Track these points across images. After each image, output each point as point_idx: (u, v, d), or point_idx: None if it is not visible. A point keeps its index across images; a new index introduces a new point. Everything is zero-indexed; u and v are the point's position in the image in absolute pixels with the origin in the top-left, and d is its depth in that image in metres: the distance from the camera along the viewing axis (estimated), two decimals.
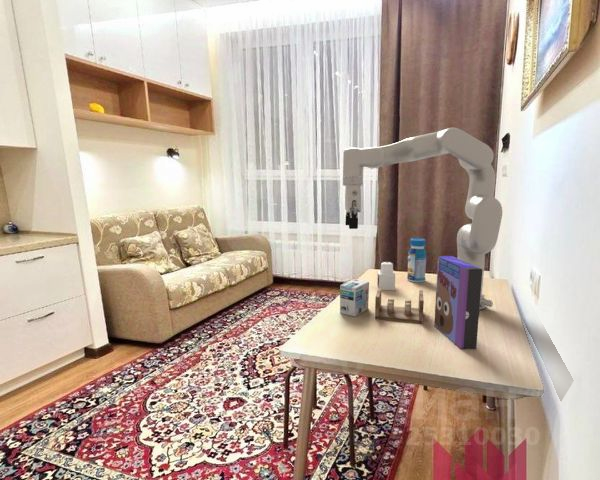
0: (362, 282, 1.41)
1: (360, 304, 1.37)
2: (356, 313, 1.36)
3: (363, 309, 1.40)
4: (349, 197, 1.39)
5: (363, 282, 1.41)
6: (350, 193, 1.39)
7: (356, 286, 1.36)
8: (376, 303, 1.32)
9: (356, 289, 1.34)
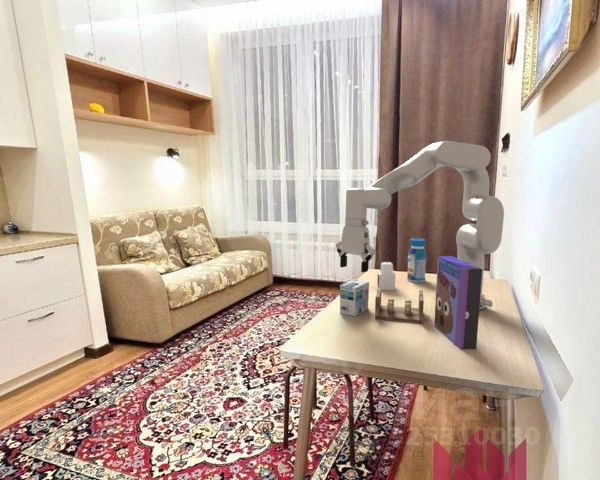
0: (362, 282, 1.41)
1: (360, 304, 1.37)
2: (356, 313, 1.36)
3: (363, 309, 1.40)
4: (362, 240, 1.32)
5: (363, 282, 1.41)
6: (363, 236, 1.32)
7: (356, 286, 1.36)
8: (376, 303, 1.32)
9: (356, 289, 1.34)
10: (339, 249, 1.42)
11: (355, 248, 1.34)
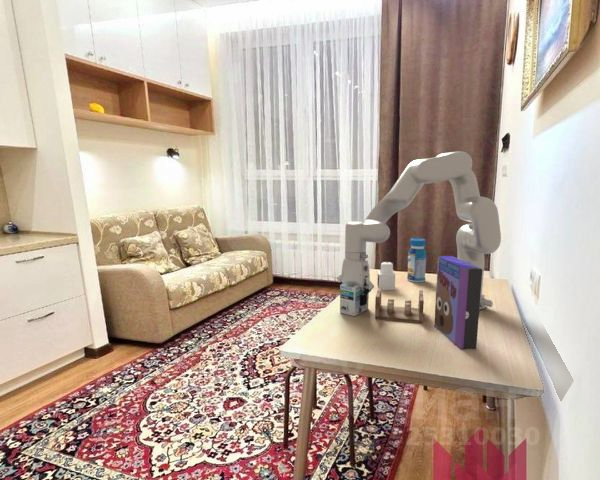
0: None
1: (359, 304, 1.37)
2: (356, 313, 1.36)
3: (363, 309, 1.40)
4: (362, 273, 1.34)
5: None
6: (363, 269, 1.34)
7: (356, 286, 1.36)
8: (376, 303, 1.32)
9: (356, 289, 1.34)
10: (341, 282, 1.43)
11: (355, 281, 1.36)
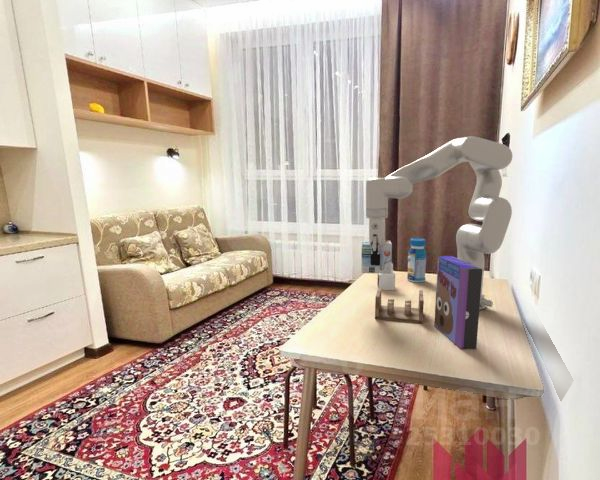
0: (384, 243, 1.33)
1: None
2: (364, 270, 1.34)
3: (379, 270, 1.33)
4: (370, 231, 1.30)
5: (385, 243, 1.33)
6: (371, 226, 1.30)
7: (367, 243, 1.33)
8: (376, 303, 1.32)
9: (363, 245, 1.33)
10: None
11: None
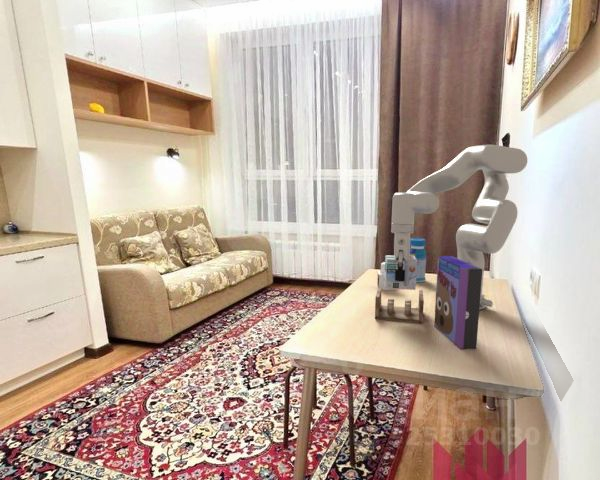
0: (409, 258, 1.31)
1: None
2: (388, 286, 1.32)
3: (403, 286, 1.31)
4: (396, 246, 1.29)
5: (410, 259, 1.31)
6: (397, 242, 1.28)
7: (392, 258, 1.31)
8: (376, 303, 1.32)
9: (388, 260, 1.31)
10: None
11: None
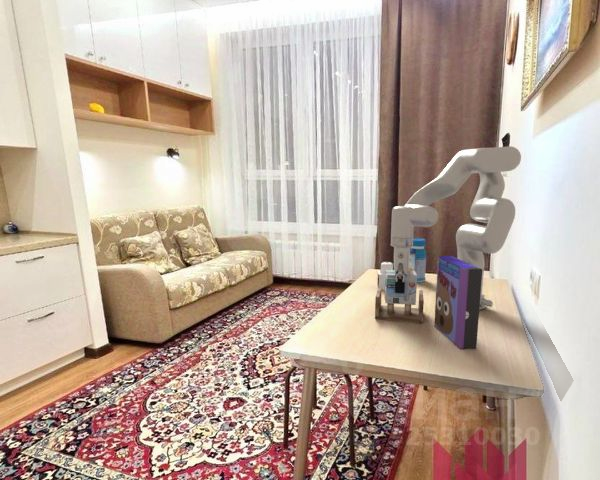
0: (409, 274, 1.32)
1: (395, 293, 1.33)
2: (388, 301, 1.34)
3: (403, 301, 1.33)
4: (395, 259, 1.29)
5: (410, 274, 1.32)
6: (396, 255, 1.29)
7: (392, 274, 1.33)
8: (376, 303, 1.32)
9: (388, 275, 1.32)
10: None
11: None
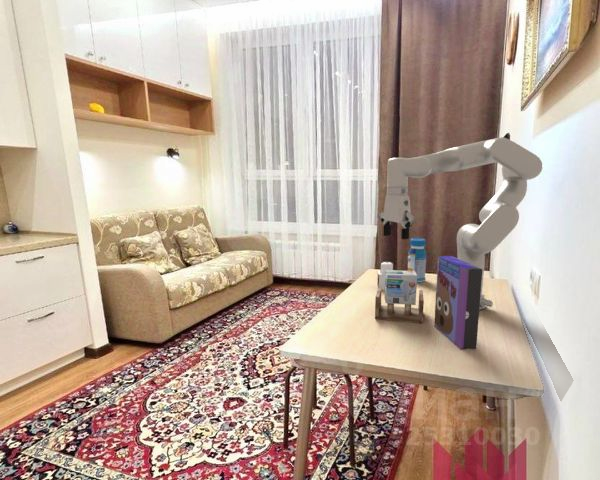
0: (409, 274, 1.32)
1: (395, 293, 1.33)
2: (388, 301, 1.34)
3: (403, 301, 1.33)
4: (402, 207, 1.37)
5: (410, 274, 1.32)
6: (402, 203, 1.37)
7: (392, 274, 1.33)
8: (376, 303, 1.32)
9: (388, 275, 1.32)
10: (383, 218, 1.48)
11: (395, 216, 1.39)
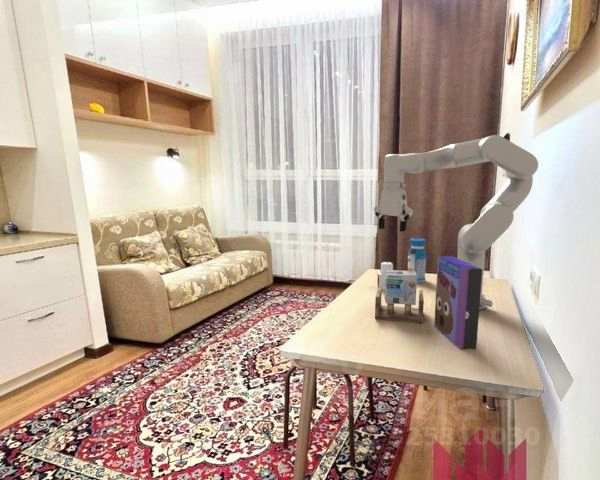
0: (409, 274, 1.32)
1: (395, 293, 1.33)
2: (388, 301, 1.34)
3: (403, 301, 1.33)
4: (401, 201, 1.45)
5: (410, 274, 1.32)
6: (401, 197, 1.44)
7: (392, 274, 1.33)
8: (376, 303, 1.32)
9: (388, 275, 1.32)
10: (377, 212, 1.54)
11: (394, 209, 1.46)
